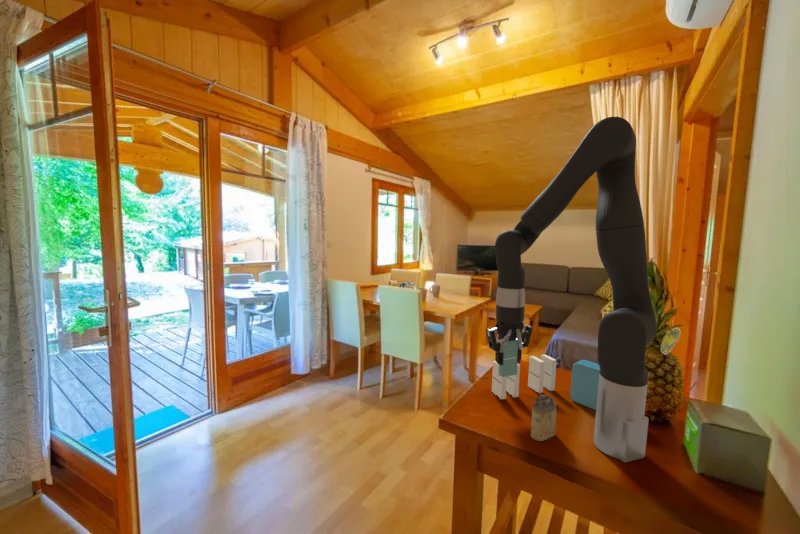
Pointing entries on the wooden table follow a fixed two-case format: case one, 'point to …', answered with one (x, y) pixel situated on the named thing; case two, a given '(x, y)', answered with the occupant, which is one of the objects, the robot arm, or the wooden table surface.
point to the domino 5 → (549, 372)
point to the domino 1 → (498, 382)
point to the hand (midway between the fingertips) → (508, 362)
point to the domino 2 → (509, 359)
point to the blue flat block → (585, 383)
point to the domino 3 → (513, 383)
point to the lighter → (543, 418)
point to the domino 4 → (536, 374)
